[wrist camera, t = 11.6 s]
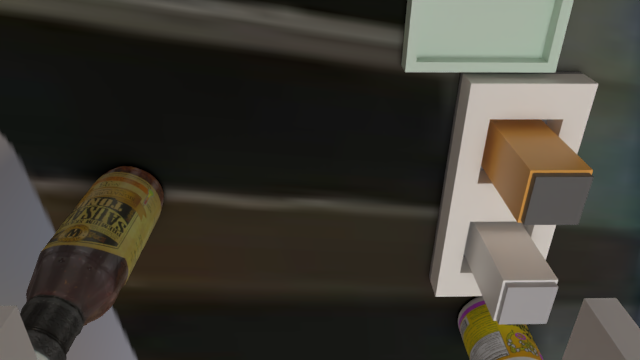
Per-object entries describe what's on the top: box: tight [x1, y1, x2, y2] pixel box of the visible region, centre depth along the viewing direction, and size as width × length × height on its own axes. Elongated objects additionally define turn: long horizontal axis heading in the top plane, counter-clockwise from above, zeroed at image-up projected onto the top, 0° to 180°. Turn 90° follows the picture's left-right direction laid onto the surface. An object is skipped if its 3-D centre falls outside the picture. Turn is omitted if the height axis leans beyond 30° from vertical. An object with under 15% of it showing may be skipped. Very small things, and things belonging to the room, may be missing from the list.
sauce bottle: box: [20, 166, 164, 360], centre depth 38 cm, size 7×6×20 cm
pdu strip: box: [429, 72, 598, 297], centre depth 46 cm, size 22×10×3 cm, turn 179°
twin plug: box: [464, 221, 558, 324], centre depth 45 cm, size 4×4×10 cm
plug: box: [481, 119, 594, 225], centre depth 40 cm, size 4×4×10 cm
